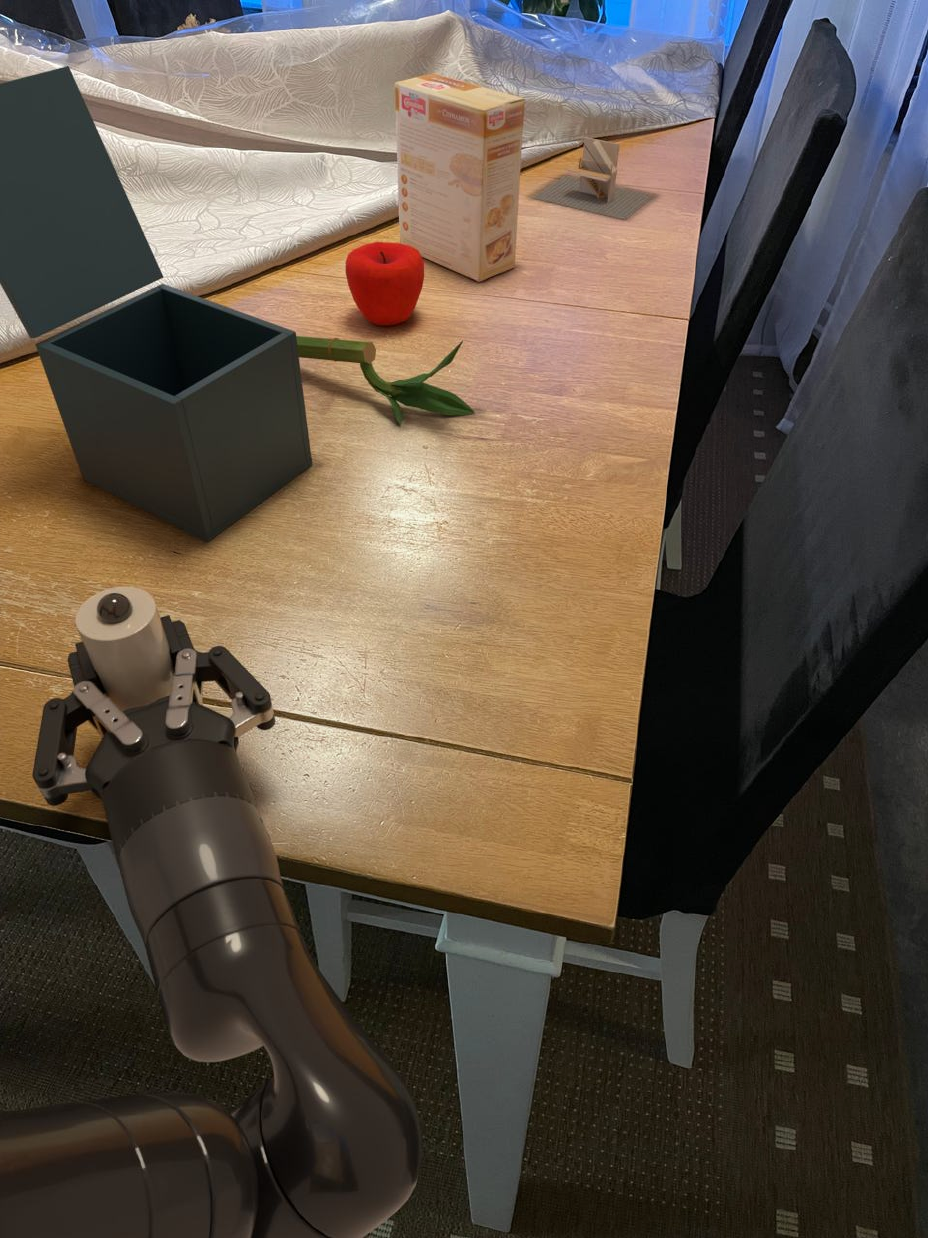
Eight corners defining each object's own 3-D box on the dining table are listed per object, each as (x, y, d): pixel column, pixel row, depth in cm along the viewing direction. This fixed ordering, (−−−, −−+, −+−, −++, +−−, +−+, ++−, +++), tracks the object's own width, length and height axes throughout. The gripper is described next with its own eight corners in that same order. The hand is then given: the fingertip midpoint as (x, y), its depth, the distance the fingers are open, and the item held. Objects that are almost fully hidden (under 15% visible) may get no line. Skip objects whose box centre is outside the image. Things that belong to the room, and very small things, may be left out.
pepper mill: (117, 757, 58) (61, 628, 49) (127, 703, 61) (76, 573, 52) (188, 751, 58) (145, 622, 50) (195, 698, 61) (155, 568, 53)
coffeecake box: (516, 267, 113) (527, 97, 99) (478, 283, 110) (484, 109, 96) (435, 233, 120) (435, 70, 107) (397, 247, 117) (392, 80, 103)
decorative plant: (250, 313, 98) (483, 330, 84) (265, 387, 102) (488, 414, 88) (211, 327, 93) (449, 347, 79) (228, 403, 98) (456, 434, 84)
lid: (68, 65, 69) (63, 67, 69) (-92, 106, 61) (-97, 109, 61) (164, 277, 78) (158, 278, 78) (35, 337, 70) (30, 338, 70)
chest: (312, 464, 82) (296, 331, 72) (207, 542, 74) (173, 403, 64) (192, 412, 88) (162, 282, 78) (82, 479, 80) (34, 343, 70)
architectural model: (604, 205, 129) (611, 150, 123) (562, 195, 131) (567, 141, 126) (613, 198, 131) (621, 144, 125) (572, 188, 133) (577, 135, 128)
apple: (401, 293, 107) (399, 228, 102) (439, 323, 102) (439, 256, 96) (336, 311, 104) (330, 244, 98) (371, 342, 98) (367, 274, 93)
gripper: (315, 757, 46) (223, 562, 57) (27, 867, 41) (-14, 632, 52) (328, 833, 51) (242, 642, 62) (74, 938, 47) (28, 711, 57)
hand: (126, 638), depth 57 cm, fingers closed on pepper mill, 4 cm apart
